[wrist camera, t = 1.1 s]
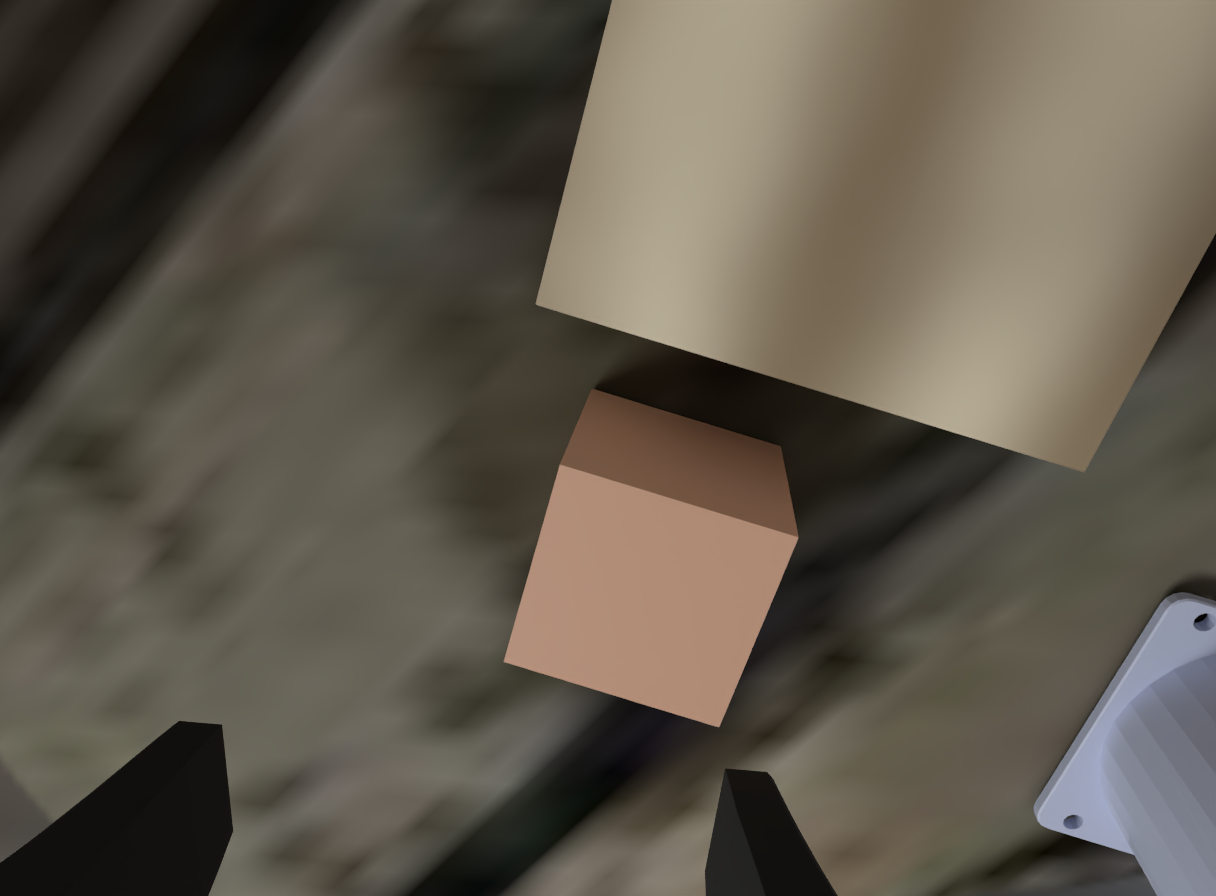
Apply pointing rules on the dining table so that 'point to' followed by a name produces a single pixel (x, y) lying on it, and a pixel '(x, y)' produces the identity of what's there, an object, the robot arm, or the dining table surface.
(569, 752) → the dining table surface
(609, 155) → the birch base
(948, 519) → the dining table surface
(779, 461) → the terracotta cube
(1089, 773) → the robot arm
